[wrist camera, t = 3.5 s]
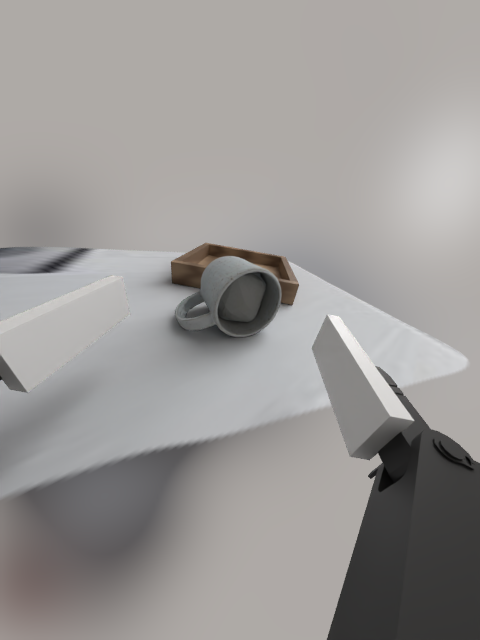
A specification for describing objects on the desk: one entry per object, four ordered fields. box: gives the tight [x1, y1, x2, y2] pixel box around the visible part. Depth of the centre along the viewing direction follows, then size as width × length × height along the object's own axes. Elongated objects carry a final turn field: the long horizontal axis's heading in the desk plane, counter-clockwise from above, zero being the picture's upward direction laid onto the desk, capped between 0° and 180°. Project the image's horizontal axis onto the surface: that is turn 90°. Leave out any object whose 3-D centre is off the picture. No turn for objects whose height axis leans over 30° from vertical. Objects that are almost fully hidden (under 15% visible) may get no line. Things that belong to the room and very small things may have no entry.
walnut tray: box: [171, 243, 299, 305], centre depth 37 cm, size 20×20×4 cm
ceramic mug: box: [175, 256, 282, 337], centre depth 21 cm, size 11×8×8 cm
